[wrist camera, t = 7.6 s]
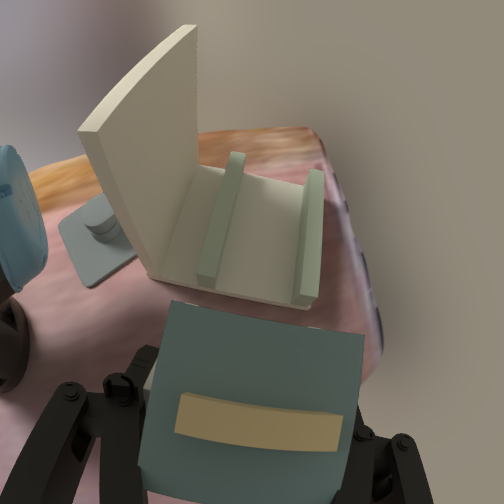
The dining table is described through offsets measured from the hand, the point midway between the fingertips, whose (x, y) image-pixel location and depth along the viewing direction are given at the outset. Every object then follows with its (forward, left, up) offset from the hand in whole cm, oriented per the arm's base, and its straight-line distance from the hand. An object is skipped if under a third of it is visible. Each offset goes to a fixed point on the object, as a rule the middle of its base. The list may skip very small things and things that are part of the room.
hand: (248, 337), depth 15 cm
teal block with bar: (0, -4, -3) cm, 5 cm away
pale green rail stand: (-2, +16, -17) cm, 24 cm away
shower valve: (-20, +13, -18) cm, 30 cm away
